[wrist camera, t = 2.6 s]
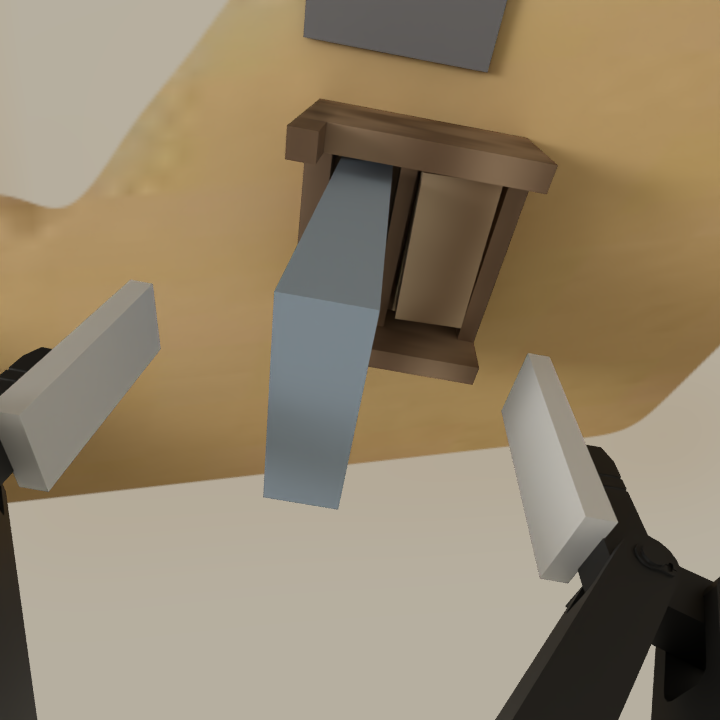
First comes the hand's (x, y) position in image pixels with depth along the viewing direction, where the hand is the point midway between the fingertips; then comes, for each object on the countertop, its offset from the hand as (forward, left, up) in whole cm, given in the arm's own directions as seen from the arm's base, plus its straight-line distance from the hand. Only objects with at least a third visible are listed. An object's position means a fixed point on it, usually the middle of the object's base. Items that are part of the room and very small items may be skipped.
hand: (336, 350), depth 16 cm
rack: (+2, 0, -14) cm, 14 cm away
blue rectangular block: (0, 0, -12) cm, 12 cm away
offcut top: (+4, 0, -11) cm, 12 cm away
